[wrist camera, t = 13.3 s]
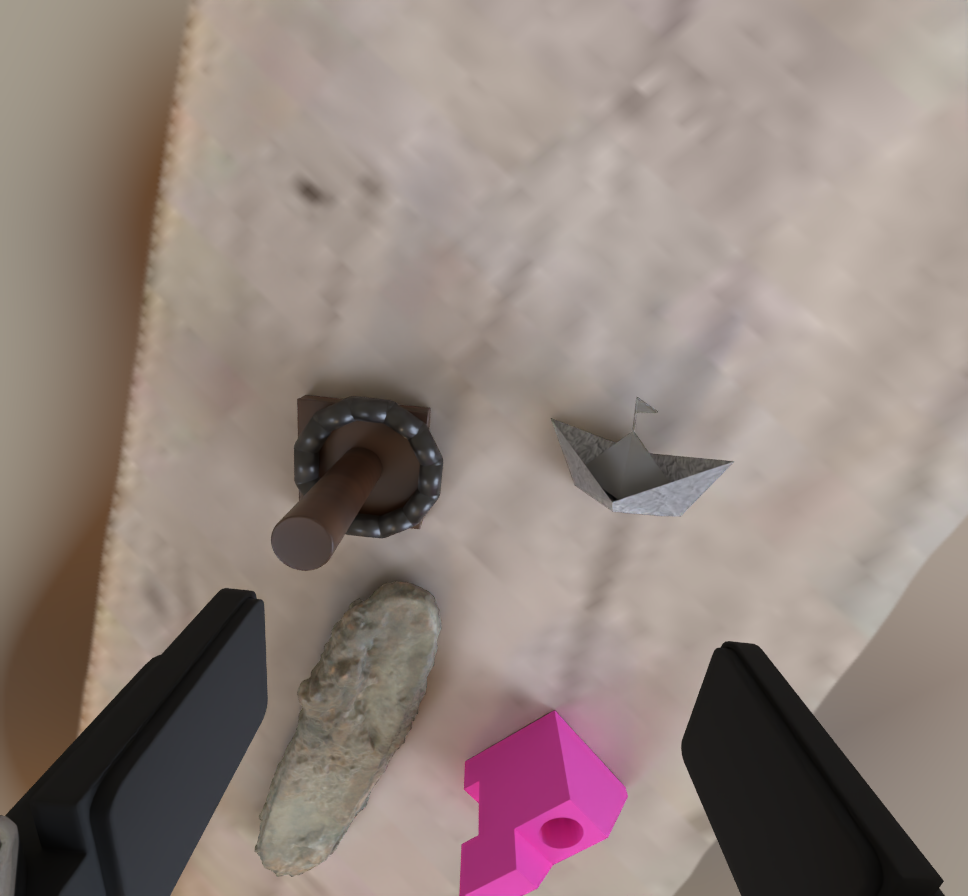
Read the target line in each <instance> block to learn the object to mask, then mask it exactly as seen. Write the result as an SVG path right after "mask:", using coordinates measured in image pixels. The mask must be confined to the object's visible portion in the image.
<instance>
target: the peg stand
mask: <svg viewBox="0 0 968 896" xmlns="http://www.w3.org/2000/svg"><path fill="white" fill-rule="evenodd" d="M341 400H344V399H339V398H329V397H320V396H310V395H305V396H303V397H301V398H299V399H297V407H298V438H299V436H300V435H301V433H302V431H303V430H304V428H305V427H306V425H307V424H308V422H309V421H310V419H311V418H312V416H313V415H314V413H315V412H317V411H319V410H321V409H323V408H326V407H328V406H330V405H332V404H335V403H337V402H339V401H341ZM400 406H401V407H403V408H404V409H406V410H407V411H408V412H410V413H411V414H413V415H414V416H416V417H417V418H418V419H420V420H421V421H423V422H424V423H425V424H426V425H427V426H428V428H429V427H430V413H431V408H425V407H416V406H406V405H400ZM419 467H420V463H419V461H418V459H417V457H416V455H415V453H414V451H413V449H412V447H411V445H410V443H409V441H408V440H407V439H406V438H404V437H403V436H401V435H400V434H399V433H397V432H396V431H394V430H393V429H391V428H390V427H388V426H387V425H386V424H383V423H374V422H365V421H354V422H352V423H349V424H347V425H345V426H343V427H340V428H338V429H336V430H333V431H332V432H331V434H330V435H329V437H328V438H327V440H326V441H325V443H324V444H323V446H322V447H321V449H320V450H319V477H320V480H319V481H318V482H317V483H316V484H315V485H314V486H313V487H312V488H311V489H310V490H309V491H308V492H307V493H306V494H305V495H304V496H302V494H301V492H300V491H299V502H298V503H297V504H296V505H295V506H294V507H293V508H292V509H291V510H290V511H289V512H288V513H287V514H286V515H285V516H284V517H283V518H282V519H281V520H280V521H279V522H278V523H277V525H276V526H275V527H274V529H273V532H272V536H271V544H272V548H273V551H274V553H275V554H276V556H277V557H278V558H279V559H280V561H282V562H283V563H284V564H286V565H287V566H289V567H291V568H294V569H297V570H303V571H308V570H314V569H317V568H319V567H321V566H323V565H324V564H326V563H327V562H328V561H329V559H330V558H331V556H332V554H333V553H334V551H335V550H336V548H337V546H338V545H339V543H340V541H341V540H342V538H343V537H344V535H345V533H346V532H347V530H348V528H349V527H350V525H351V524H352V522H353V520H354V519H355V517H356V515H357V514H358V513H359V514H369V515H378V516H382V515H384V514H387V513H389V512H392V511H394V510H397V509H399V508H401V507H404V506H405V504H406V503H407V502H408V500H409V499H410V498H411V496H412V495H413V494H414V492H415V491H416V490H417V488H418V479H419ZM422 521H423V519H422V520H421V521H420V523H419V524H417V525H416V526H414V527H411V528H414V529H420V528H421V524H422Z"/></svg>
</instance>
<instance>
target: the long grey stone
mask: <svg viewBox="0 0 968 896" xmlns="http://www.w3.org/2000/svg"><path fill="white" fill-rule="evenodd" d="M440 630H441V619H440V615H439V609H438V607H437V605H436V602H435V598H434V596H432V595H431V594H430V593H429V592H428V591H426V590H424V589H423V588H421V587H418V586H416V585H414V584H411V583H408V582H396V581H395V582H393V583H385V584H384V585H383V586H381V587H379V588H378V589H377V590H376V591H374V592H373V594H372V595H371V596H370V597H369V599H366V600H365V601H362V600H361V599H360V598H359V599H357V600H356V601H354V602H352V603H351V604H350V606H349V610H348V611H347V612H346V613H344V615H343V618H342V619H341V620H340V621H339V622H337V623H336V624H335V625H334V626H333V629H332V633H331V635H332V637H331V638H330V641H329V642H328V643H326V644H325V646H324V652H323V653H322V654H321V659H320V661H319V663H318V664H317V665H316V667H315V668H314V669H313V670H312V672H311V677H310V678H309V679H307V680H304V681H302V683H301V684H300V686H299V689H298V692H297V695H298V700H299V703H300V704H301V705H302V710H301V711H300V714H299V720H298V727H297V729H296V730H297V731H296V733H295V735H294V737H293V738H292V740H291V742H290V743H289V745H288V747H287V749H286V751H285V754H284V757H283V759H282V761H281V762H280V763H279V764H278V767H277V770H276V772H275V774H274V777H273V779H272V782H271V785H270V792H269V794H268V796H267V800H266V801H267V802H266V803H265V805H264V807H263V809H262V811H261V813H260V815H259V819H260V820H261V824H260V834H259V837H258V841H257V845H256V846H255V852H258V853H257V854H258V855H259V856H260V859H261V860H262V864H263V865H264V868H266V869H268V870H271V871H273V872H274V873H275V874H276V876H277V877H279V876H283V875H289V876H291V877H293V876H295V875H300V874H303V873H304V872H306V871H308V870H311V869H312V868H314V867H316V866H317V865H319V864H320V863H322V862H323V861H325V860H327V858H328V857H329V856H330V855H331V854H332V853H333V852H334V851H335V850H336V849H337V846H338V845H339V842H340V841H341V840H342V839H343V836H344V834H345V833H346V832H347V830H348V827H349V825H350V823H351V822H352V821H353V819H354V817H355V816H356V815H357V813H358V812H359V811H361V810H363V808H364V807H366V805H367V801H368V799H369V795H370V793H371V790H372V789H373V787H374V786H375V784H376V782H377V781H378V780H379V778H380V776H381V775H382V774H383V773H384V772H385V770H386V768H387V766H388V763H389V761H390V759H391V757H392V756H393V754H394V753H395V751H396V750H397V749H398V748H399V747H400V745H401V744H403V743H405V737H406V735H407V734H408V733H409V731H410V730H411V728H412V721H414V719H415V716H416V714H418V706H419V703H420V702H421V700H422V699H423V696H424V695H425V693H426V688H427V676H428V674H429V672H430V670H431V669H432V667H433V666H434V658H435V654H436V652H437V648H438V645H437V638H438V634H439V632H440Z"/></svg>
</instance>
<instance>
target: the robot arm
mask: <svg viewBox="0 0 968 896" xmlns="http://www.w3.org/2000/svg"><path fill="white" fill-rule="evenodd" d="M267 702H268V695H267V668H266V641H265V614H264V602H263V600H261V599H257V598H256V594H255V592H253V591H248V590H239V589H229V588H224V589H221V590H220V591H219V592H218V593H217V594H216V595H215V596H214V597H213V598H212V600H211V601H210V602H209V603H208V604H207V605H206V606H205V607H204V608H203V609H202V610H201V612H200V613H199V614H198V615H197V616H196V617H195V618H194V619H193V620H192V621H191V623H190V624H189V625H188V626H187V627H186V628H185V629H184V630H183V631H182V632H181V634H180V635H179V636H178V637H177V638H176V639H175V640H174V641H173V642H172V643H171V645H170V646H169V647H168V648H167V649H166V650H165V651H164V652H163V653H162V654H161V655H158V656H156V657H154V658H152V659H151V660H150V661H149V662H148V663H147V664H146V665H145V666H144V667H143V668H142V669H141V670H140V671H139V672H138V673H137V674H136V675H135V676H134V677H133V678H132V680H131V681H130V682H129V683H128V684H127V685H126V686H125V687H124V688H123V689H122V690H121V691H120V692H119V694H118V695H117V696H116V697H115V698H114V699H113V700H112V701H111V702H110V703H109V704H108V705H107V706H106V708H105V709H104V710H103V711H102V712H101V713H100V714H99V715H98V716H97V717H96V718H95V719H94V720H93V722H92V723H91V724H90V725H89V726H88V727H87V728H86V729H85V730H84V731H83V732H82V733H81V734H80V736H79V737H78V738H77V739H76V740H75V741H74V742H73V743H72V744H71V745H70V746H69V747H68V748H67V750H66V751H65V752H64V753H63V754H62V755H61V756H60V757H59V758H58V759H57V760H56V761H55V762H54V764H53V765H52V766H51V767H50V768H49V769H48V770H47V771H46V772H45V773H44V774H43V775H42V777H41V778H40V779H39V780H38V781H37V782H36V783H35V784H34V785H33V786H32V787H31V788H30V789H29V791H28V792H27V793H26V794H25V795H24V796H23V797H22V798H21V799H20V800H19V801H18V802H17V803H16V805H15V806H14V807H13V808H12V809H11V810H10V811H9V812H8V813H7V814H6V815H5V816H2V815H0V896H170V895H171V893H172V891H173V889H174V887H175V885H176V883H177V881H178V879H179V878H180V876H181V874H182V872H183V870H184V868H185V866H186V864H187V862H188V861H189V859H190V857H191V855H192V853H193V851H194V849H195V847H196V845H197V843H198V842H199V840H200V838H201V836H202V834H203V832H204V830H205V828H206V826H207V825H208V823H209V821H210V819H211V817H212V815H213V813H214V811H215V809H216V808H217V806H218V804H219V802H220V800H221V798H222V796H223V794H224V792H225V790H226V789H227V787H228V785H229V783H230V781H231V779H232V777H233V775H234V773H235V772H236V770H237V768H238V766H239V764H240V762H241V760H242V758H243V756H244V755H245V753H246V751H247V749H248V747H249V745H250V743H251V741H252V739H253V737H254V736H255V734H256V732H257V730H258V728H259V726H260V724H261V722H262V720H263V718H264V715H265V712H266V708H267ZM681 750H682V756H683V760H684V763H685V765H686V768H687V770H688V772H689V775H690V777H691V779H692V782H693V784H694V786H695V789H696V791H697V793H698V796H699V798H700V800H701V803H702V805H703V807H704V810H705V812H706V814H707V817H708V819H709V821H710V824H711V826H712V828H713V831H714V833H715V835H716V838H717V840H718V842H719V845H720V847H721V849H722V852H723V854H724V856H725V859H726V861H727V863H728V866H729V868H730V870H731V873H732V875H733V877H734V880H735V882H736V884H737V887H738V889H739V892H740V894H741V896H945V895H944V894H943V893H942V891H941V890H940V889H939V887H940V886H941V884H942V883H943V882H944V881H943V879H942V878H941V877H940V875H939V874H938V873H937V872H936V870H935V869H934V868H933V867H932V865H931V864H930V863H929V862H928V860H927V859H926V858H925V857H924V855H923V854H922V853H921V852H920V850H919V849H918V848H917V846H916V845H915V844H914V842H913V841H912V840H911V839H910V837H909V836H908V835H907V834H906V832H905V831H904V830H903V829H902V827H901V826H900V825H899V823H898V822H897V821H896V820H895V818H894V817H893V816H892V814H891V813H890V812H889V811H888V809H887V808H886V807H885V806H884V804H883V803H882V802H881V800H880V799H879V798H878V797H877V795H876V794H875V793H874V792H873V790H872V789H871V788H870V786H869V785H868V784H867V783H866V781H865V780H864V779H863V778H862V777H861V775H860V774H859V772H858V771H857V770H856V769H855V767H854V766H853V765H852V764H851V762H850V761H849V760H848V759H847V757H846V756H845V755H844V753H843V752H842V751H841V750H840V748H839V747H838V746H837V744H836V743H835V742H834V741H833V739H832V738H831V737H830V736H829V734H828V733H827V732H826V731H825V729H824V728H823V727H822V725H821V724H820V723H819V722H818V720H817V719H816V718H815V716H814V715H813V714H812V713H811V711H810V710H809V709H808V708H807V706H806V705H805V704H804V702H803V701H802V700H801V699H800V697H799V696H798V695H797V694H796V692H795V691H794V690H793V688H792V687H791V686H790V685H789V683H788V682H787V681H786V680H785V678H784V677H783V676H782V674H781V673H780V672H779V671H778V669H777V668H776V667H775V666H774V664H773V663H772V662H771V660H770V659H769V658H768V657H767V655H766V654H765V653H764V652H763V650H762V649H761V648H760V647H759V646H757V645H755V644H750V643H740V642H731V641H727V642H725V643H723V644H722V646H721V648H717V649H715V651H714V652H713V655H712V658H711V661H710V663H709V666H708V669H707V672H706V675H705V677H704V680H703V683H702V686H701V689H700V691H699V694H698V697H697V700H696V703H695V706H694V708H693V711H692V714H691V717H690V720H689V722H688V725H687V728H686V731H685V734H684V736H683V739H682V744H681Z"/></svg>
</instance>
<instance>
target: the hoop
mask: <svg viewBox="0 0 968 896" xmlns="http://www.w3.org/2000/svg"><path fill="white" fill-rule="evenodd" d="M354 421H365V422H374V423H383V424H386V425H387V426H388V427H390V428H391V429H393V430H394V431H396V432H397V433H399V434H400V435H401V436H403V437H404V438H406V439H407V440H408V441H409V443H410V445H411V447H412V449H413V451H414V453H415V455H416V457H417V459H418V461H419V463H420V467H419V479H418V488H417V490H416V491H415V492H414V494H413V495H412V496H411V498H410V499H409V500H408V502H407V503H406V504H405V506H404V507H401V508H399V509H397V510H394V511H392V512H389V513H387V514H384V515H382V516H378V515H369V514H359V513H358V514H357V515H356V517H355V519H354V520H353V522H352V524H351V525H350V527H349V528H348V530H347V532H346V533H345V534H346V535H354V536H363V537H373V538H386V537H389V536H391V535H394V534H396V533H399V532H401V531H404V530H406V529H409V528H411V527H414V526H416V525H417V524H419V523H420V521H421V520H422V519H423V517H424V516H425V515H426V514H427V512H428V511H429V510H430V508H431V507H432V506H433V504H434V503H435V502H436V501H437V499H438V498H439V496H440V490H441V479H442V469H443V458H442V455H441V453H440V451H439V449H438V447H437V445H436V443H435V441H434V439H433V437H432V435H431V433H430V430H429V428H428V426H427V425H426V424H425V423H424V422H423V421H421V420H420V419H418V418H417V417H416V416H414V415H413V414H411V413H410V412H408V411H407V410H406V409H404V408H403V407H401V406H400V405H399V404H397V403H396V402H394V401H391V400H383V399H375V398H366V397H357V396H351V397H348V398H346V399H344V400H341V401H339V402H337V403H335V404H332V405H330V406H328V407H326V408H323V409H321V410H319V411H317V412H315V413H314V415H313V416H312V418H311V419H310V421H309V422H308V424H307V425H306V427H305V428H304V430H303V431H302V433H301V435H300V436H299V438H298V439H297V441H296V442H295V445H294V480H295V484H296V486H297V487H298V489H299V491H300V492H301V494H302V496H304V495H305V494H306V493H307V492H308V491H309V490H310V489H311V488H312V487H313V486H314V485H315V484H316V483H317V482H318V481H319V480H320V477H319V450H320V449H321V447H322V446H323V444H324V443H325V441H326V440H327V438H328V437H329V435H330V434H331V432H332V431H333V430H336V429H338V428H340V427H343V426H345V425H347V424H349V423H352V422H354Z"/></svg>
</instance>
